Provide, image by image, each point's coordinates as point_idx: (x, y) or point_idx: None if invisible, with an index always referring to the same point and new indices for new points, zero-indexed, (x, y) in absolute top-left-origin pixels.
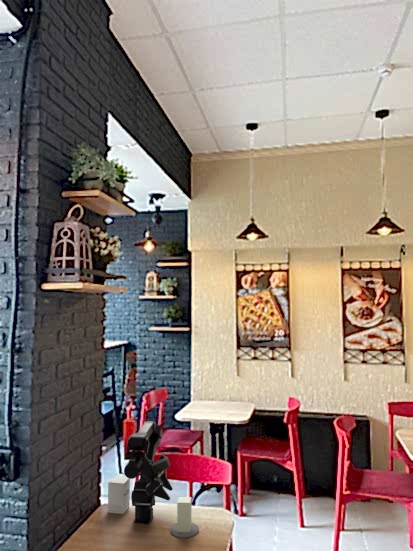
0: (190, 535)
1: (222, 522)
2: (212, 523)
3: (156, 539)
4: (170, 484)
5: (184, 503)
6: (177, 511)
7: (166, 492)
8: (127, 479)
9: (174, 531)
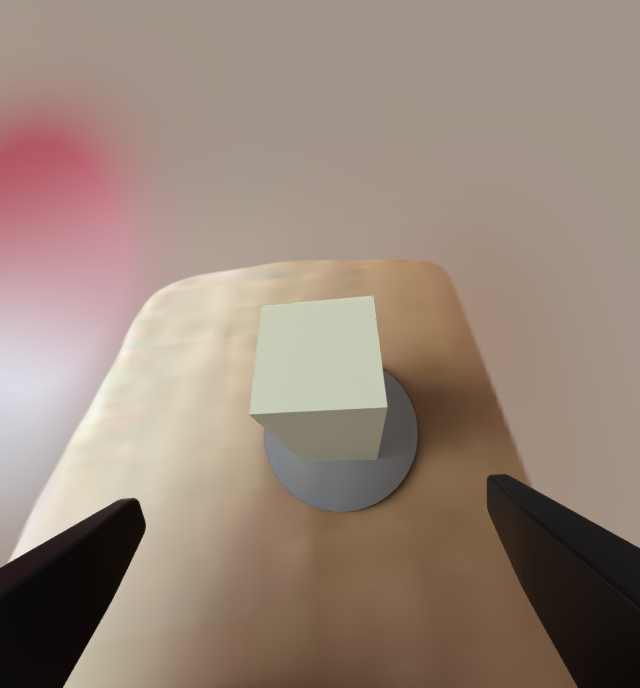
0: (399, 384)
1: (261, 284)
2: None
3: (478, 601)
4: (37, 546)
5: (378, 343)
6: (381, 430)
7: (604, 564)
8: None
9: (374, 478)
